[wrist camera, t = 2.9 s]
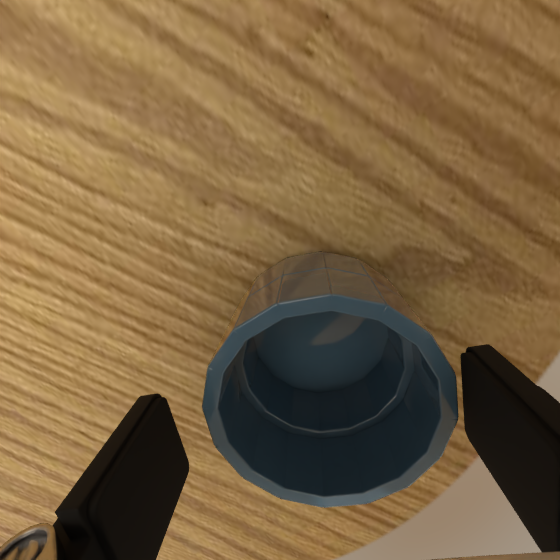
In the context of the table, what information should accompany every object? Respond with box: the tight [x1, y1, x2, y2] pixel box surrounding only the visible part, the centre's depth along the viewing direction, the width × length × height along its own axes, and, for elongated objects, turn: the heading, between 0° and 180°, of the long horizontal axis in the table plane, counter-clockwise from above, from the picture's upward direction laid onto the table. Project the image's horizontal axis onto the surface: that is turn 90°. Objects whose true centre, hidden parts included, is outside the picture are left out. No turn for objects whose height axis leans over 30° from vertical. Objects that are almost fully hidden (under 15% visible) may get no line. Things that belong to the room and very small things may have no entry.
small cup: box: [202, 251, 458, 508], centre depth 12 cm, size 7×7×6 cm
